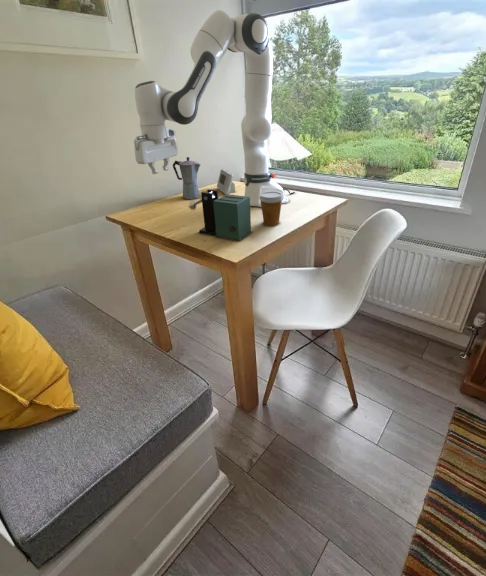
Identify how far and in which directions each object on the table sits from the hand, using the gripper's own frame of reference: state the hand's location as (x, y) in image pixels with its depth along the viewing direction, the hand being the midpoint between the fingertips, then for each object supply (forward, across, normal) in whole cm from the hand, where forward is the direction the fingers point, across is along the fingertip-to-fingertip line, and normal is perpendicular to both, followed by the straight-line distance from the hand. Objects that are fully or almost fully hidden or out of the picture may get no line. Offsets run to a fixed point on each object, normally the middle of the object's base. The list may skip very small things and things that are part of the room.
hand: (160, 172), depth 127 cm
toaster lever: (+11, 0, -18) cm, 22 cm away
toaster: (+21, 0, -32) cm, 38 cm away
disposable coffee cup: (+21, +17, -40) cm, 48 cm away
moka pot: (+21, +35, +15) cm, 44 cm away
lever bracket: (+21, 0, -22) cm, 31 cm away
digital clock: (+21, +52, +4) cm, 57 cm away
